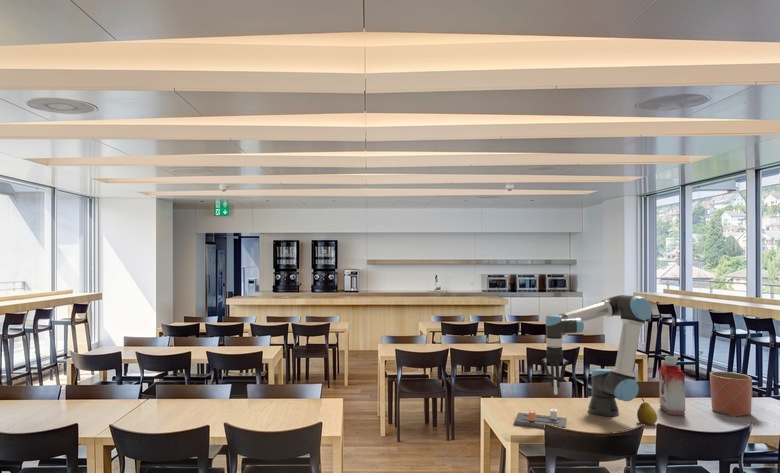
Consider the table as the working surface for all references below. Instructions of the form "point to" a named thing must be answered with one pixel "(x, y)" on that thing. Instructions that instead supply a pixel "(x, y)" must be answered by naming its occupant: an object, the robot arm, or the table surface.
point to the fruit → (646, 414)
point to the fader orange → (532, 415)
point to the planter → (731, 393)
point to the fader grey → (553, 414)
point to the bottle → (672, 387)
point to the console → (539, 421)
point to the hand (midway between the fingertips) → (555, 393)
